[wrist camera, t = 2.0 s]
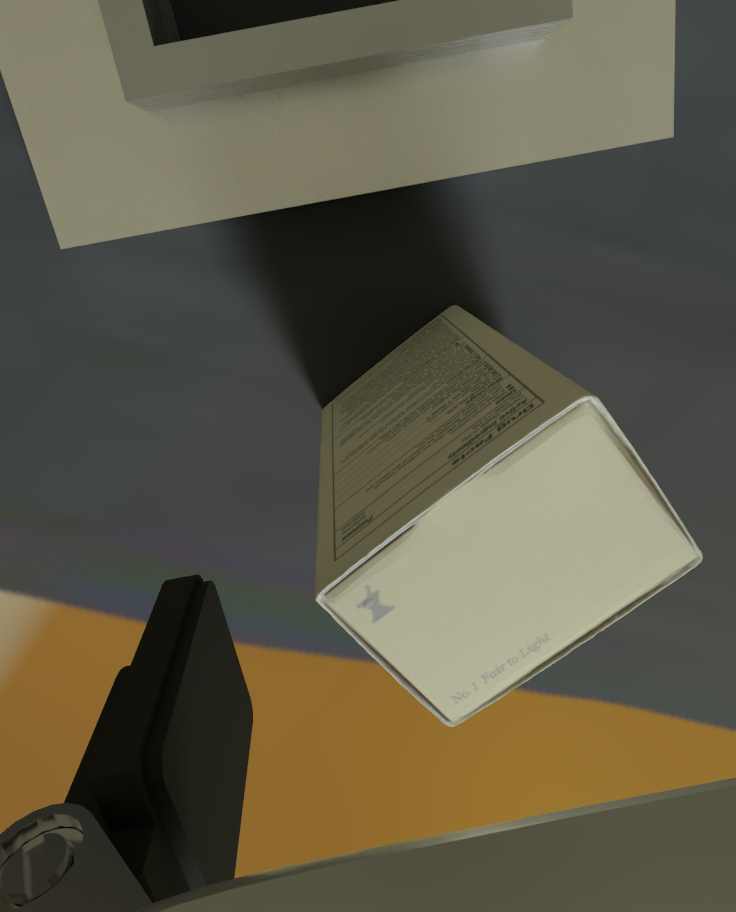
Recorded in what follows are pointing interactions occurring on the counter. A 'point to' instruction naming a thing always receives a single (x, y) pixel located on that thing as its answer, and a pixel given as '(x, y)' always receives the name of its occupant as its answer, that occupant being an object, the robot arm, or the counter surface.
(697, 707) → the counter surface
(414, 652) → the skincare box
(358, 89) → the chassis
